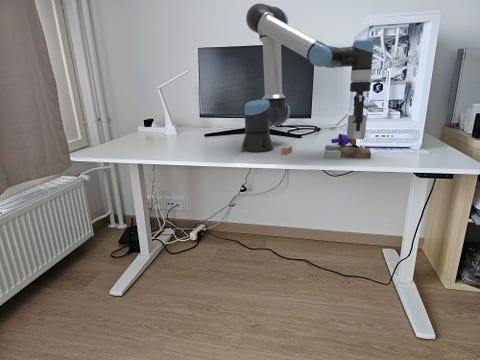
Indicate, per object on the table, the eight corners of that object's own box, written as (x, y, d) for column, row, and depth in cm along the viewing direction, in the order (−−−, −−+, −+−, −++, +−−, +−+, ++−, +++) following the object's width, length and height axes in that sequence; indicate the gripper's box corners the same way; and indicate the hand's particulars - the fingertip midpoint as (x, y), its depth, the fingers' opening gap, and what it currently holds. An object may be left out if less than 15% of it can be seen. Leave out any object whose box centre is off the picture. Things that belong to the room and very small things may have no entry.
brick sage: (325, 159, 130) (326, 152, 129) (324, 157, 133) (324, 150, 132) (340, 159, 130) (340, 151, 129) (338, 157, 133) (339, 150, 132)
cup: (345, 138, 129) (347, 116, 126) (347, 135, 138) (349, 114, 135) (364, 139, 126) (366, 116, 124) (365, 135, 135) (367, 114, 132)
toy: (333, 153, 150) (366, 148, 148) (332, 137, 148) (365, 132, 145) (330, 147, 161) (360, 142, 158) (328, 132, 158) (359, 127, 155)
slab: (339, 157, 131) (340, 151, 131) (339, 152, 141) (339, 147, 140) (370, 158, 128) (371, 152, 127) (368, 153, 137) (368, 147, 137)
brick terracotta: (287, 155, 139) (287, 148, 138) (281, 154, 140) (281, 147, 140) (292, 152, 144) (292, 146, 143) (285, 151, 146) (286, 145, 145)
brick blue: (325, 152, 143) (325, 145, 142) (326, 151, 145) (327, 144, 144) (338, 153, 140) (338, 146, 139) (339, 152, 142) (340, 145, 141)
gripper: (373, 81, 114) (368, 141, 121) (367, 81, 135) (363, 132, 141) (352, 81, 116) (347, 141, 123) (349, 81, 137) (345, 132, 143)
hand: (356, 136), depth 132 cm, fingers closed on cup, 10 cm apart
